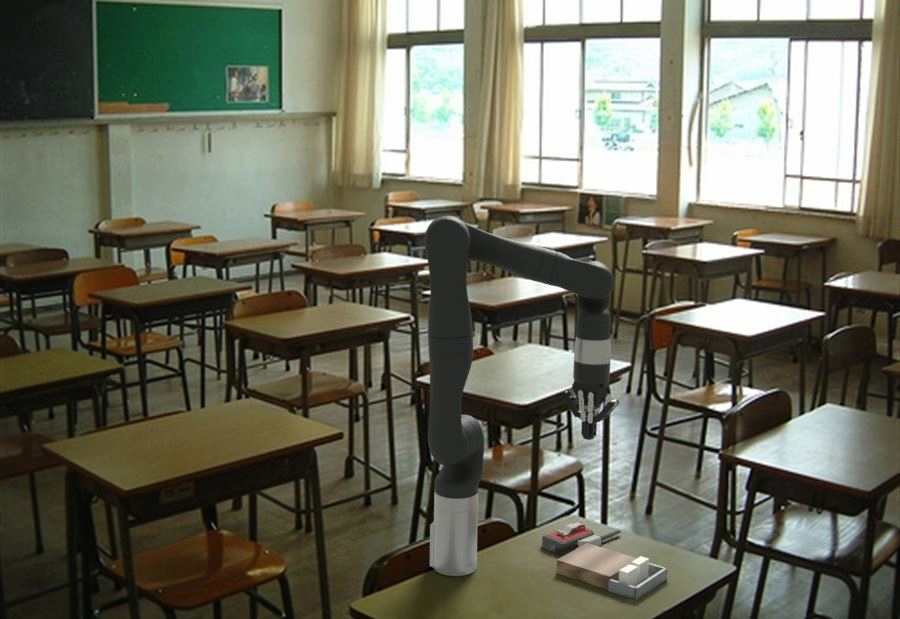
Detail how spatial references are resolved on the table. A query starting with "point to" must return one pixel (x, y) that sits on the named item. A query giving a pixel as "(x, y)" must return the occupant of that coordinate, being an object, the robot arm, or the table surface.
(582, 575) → the tan flat block
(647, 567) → the tile
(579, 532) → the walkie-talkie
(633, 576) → the tile
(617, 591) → the box
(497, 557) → the table surface
